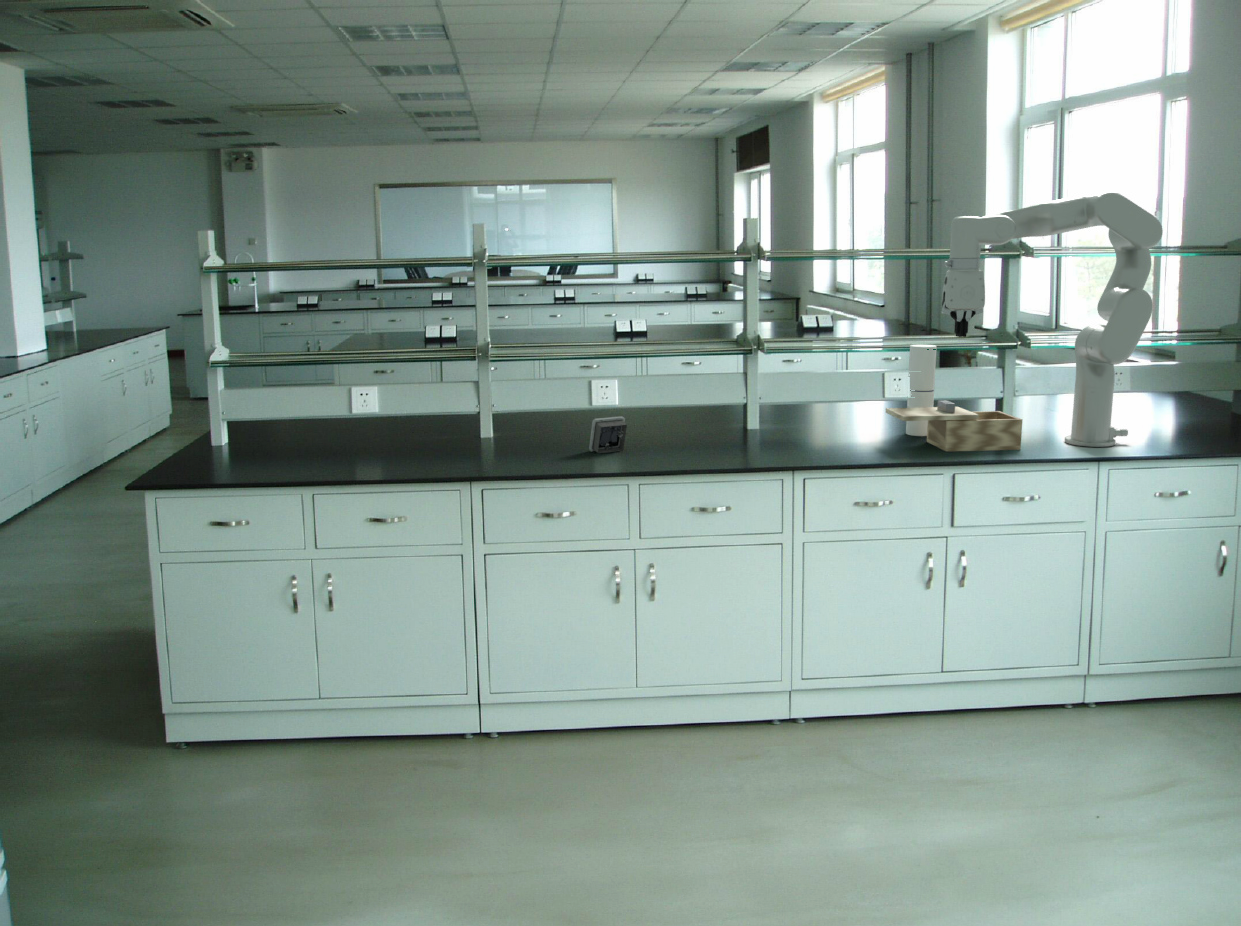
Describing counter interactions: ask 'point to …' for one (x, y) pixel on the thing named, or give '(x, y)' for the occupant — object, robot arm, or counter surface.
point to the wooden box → (977, 433)
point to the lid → (933, 412)
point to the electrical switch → (608, 434)
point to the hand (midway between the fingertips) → (960, 336)
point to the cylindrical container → (921, 384)
